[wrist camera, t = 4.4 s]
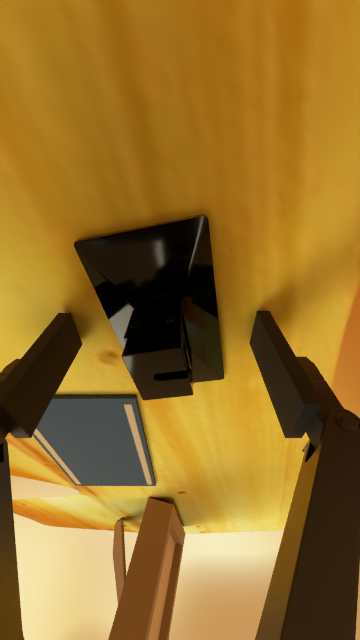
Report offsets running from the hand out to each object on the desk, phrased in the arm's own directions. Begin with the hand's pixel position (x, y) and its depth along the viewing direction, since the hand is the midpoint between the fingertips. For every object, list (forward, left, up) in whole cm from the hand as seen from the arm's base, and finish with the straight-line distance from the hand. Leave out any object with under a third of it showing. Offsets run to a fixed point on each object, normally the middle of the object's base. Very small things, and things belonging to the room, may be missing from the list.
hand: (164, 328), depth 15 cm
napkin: (+19, -9, 0) cm, 21 cm away
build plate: (0, 0, 0) cm, 1 cm away
